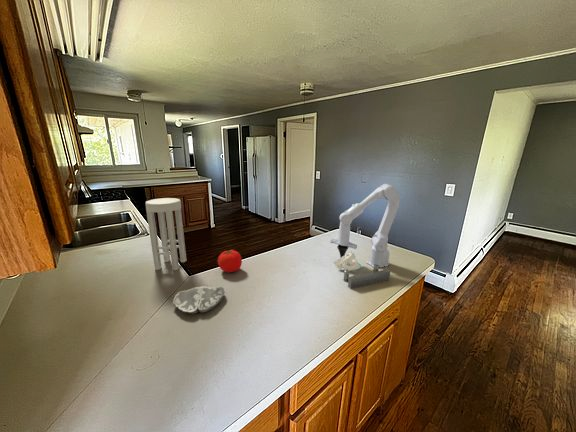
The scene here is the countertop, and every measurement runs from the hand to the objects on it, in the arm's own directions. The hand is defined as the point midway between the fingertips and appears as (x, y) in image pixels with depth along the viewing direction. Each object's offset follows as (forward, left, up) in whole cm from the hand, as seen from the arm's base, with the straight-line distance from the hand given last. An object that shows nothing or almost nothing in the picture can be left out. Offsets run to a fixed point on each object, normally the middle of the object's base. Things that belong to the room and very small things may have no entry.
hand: (342, 257), depth 133 cm
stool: (+89, -27, -3) cm, 93 cm away
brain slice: (+75, +13, -3) cm, 76 cm away
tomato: (+60, -10, -3) cm, 61 cm away
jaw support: (0, +8, -3) cm, 8 cm away
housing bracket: (0, +20, -3) cm, 20 cm away
